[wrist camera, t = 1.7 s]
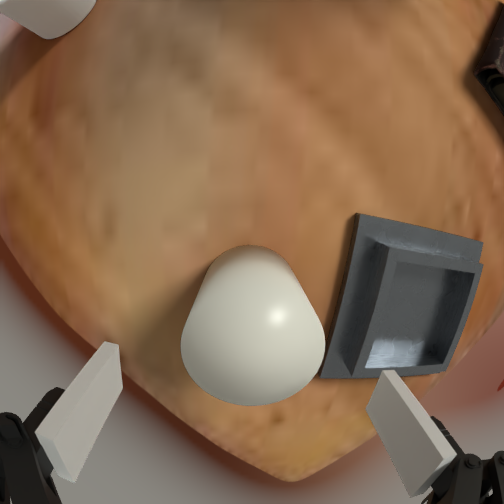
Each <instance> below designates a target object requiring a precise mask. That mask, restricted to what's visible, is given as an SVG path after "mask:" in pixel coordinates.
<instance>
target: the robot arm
mask: <svg viewBox="0 0 504 504" xmlns="http://www.w3.org/2000/svg"><path fill="white" fill-rule="evenodd" d="M122 389H123V386H122V377H121V367H120V356H119V345H118V344H113V343H109V342H105V341H104V343H103V344H102V345H101V346H100V348H99V349H98V350H97V351H96V353H95V354H94V355H93V356H92V357H91V359H90V360H89V361H88V362H87V364H86V365H85V366H84V367H83V369H82V370H81V371H80V372H79V374H78V375H77V376H76V377H75V379H74V380H73V382H72V383H71V384H70V385H69V387H68V388H67V389H66V390H64V389H61V388H58V387H56V388H54V389H52V390H50V391H49V392H47V393H46V395H45V396H44V397H43V398H42V401H40V402H39V403H38V404H37V407H35V408H34V409H33V411H32V412H31V413H30V414H29V416H28V417H27V418H26V420H25V421H24V422H23V423H22V421H21V419H20V418H19V417H18V416H17V415H16V414H13V413H9V412H4V413H0V504H10V497H11V501H12V504H62V503H61V500H60V498H59V495H58V493H57V490H56V487H55V485H54V482H53V479H52V477H51V475H50V474H51V472H52V470H53V468H54V470H55V472H56V473H57V475H58V476H59V477H62V478H64V479H66V480H68V481H71V482H73V483H75V482H76V480H77V478H78V475H79V473H80V471H81V469H82V467H83V465H84V463H85V461H86V459H87V457H88V455H89V453H90V451H91V449H92V447H93V445H94V442H95V441H96V438H97V437H98V435H99V433H100V431H101V429H102V427H103V425H104V423H105V421H106V419H107V417H108V415H109V413H110V411H111V410H112V408H113V406H114V404H115V402H116V400H117V398H118V396H119V394H120V393H121V391H122ZM366 411H367V413H368V415H369V417H370V419H371V421H372V423H373V425H374V427H375V429H376V431H377V433H378V434H379V436H380V438H381V440H382V442H383V444H384V446H385V448H386V450H387V452H388V454H389V456H390V458H391V460H392V462H393V464H394V466H395V468H396V470H397V472H398V474H399V476H400V478H401V480H402V482H403V484H404V486H405V488H406V490H407V492H408V494H409V496H410V498H411V497H414V496H417V495H420V494H423V493H424V492H425V491H426V490H427V489H428V488H429V487H430V486H431V487H432V488H433V491H432V492H431V493H430V494H429V495H428V496H427V497H426V498H425V499H424V500H423V501H422V503H421V504H424V503H425V502H426V501H427V500H428V502H427V504H504V451H498V452H497V453H495V455H494V456H493V457H492V458H491V459H488V460H481V459H480V458H479V457H478V456H476V455H474V454H464V452H463V451H462V449H461V448H460V447H459V446H458V444H457V443H456V441H455V440H454V439H453V437H452V436H451V435H450V433H449V432H448V431H447V430H446V428H445V427H444V425H443V424H442V423H441V422H440V421H439V420H438V419H436V418H435V417H434V416H431V417H430V416H429V415H428V414H427V412H426V411H425V410H424V408H423V407H422V406H421V404H420V403H419V402H418V400H417V399H416V398H415V396H414V395H413V394H412V392H411V391H410V390H409V388H408V387H407V386H406V385H405V383H404V382H403V381H402V379H401V378H400V377H399V376H398V374H397V373H396V372H395V370H382V372H381V375H380V377H379V380H378V382H377V385H376V387H375V389H374V392H373V394H372V396H371V398H370V401H369V403H368V405H367V407H366ZM491 489H492V490H493V494H492V495H491V496H489V493H488V492H489V491H490V490H491Z"/></svg>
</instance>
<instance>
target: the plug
mask: <svg viewBox="0 0 504 504" xmlns="http://www.w3.org/2000/svg"><path fill="white" fill-rule="evenodd" d="M324 352H325V335H324V331H323V328H322V325H321V323H320V321H319V319H318V317H317V315H316V313H315V311H314V309H313V307H312V306H311V304H310V302H309V300H308V298H307V296H306V295H305V293H304V291H303V289H302V287H301V285H300V284H299V282H298V280H297V278H296V276H295V275H294V273H293V271H292V269H291V268H290V266H289V264H288V263H287V262H286V261H285V259H284V258H282V257H281V256H280V255H279V254H277V253H276V252H275V251H273V250H271V249H268V248H265V247H262V246H257V245H243V246H238V247H235V248H232V249H229V250H227V251H225V252H224V253H222V254H221V255H220V256H219V257H217V258H216V259H215V260H214V262H213V263H212V264H211V266H210V267H209V269H208V271H207V273H206V275H205V278H204V280H203V282H202V285H201V287H200V290H199V292H198V294H197V297H196V299H195V302H194V304H193V307H192V309H191V311H190V314H189V316H188V319H187V321H186V324H185V326H184V329H183V333H182V336H181V355H182V360H183V363H184V366H185V368H186V370H187V372H188V374H189V375H190V376H191V378H192V379H193V380H194V382H195V383H196V384H197V385H198V386H199V387H201V388H202V389H203V390H204V391H205V392H207V393H209V394H210V395H212V396H214V397H216V398H218V399H220V400H223V401H225V402H228V403H232V404H237V405H245V406H258V405H266V404H271V403H275V402H278V401H281V400H284V399H286V398H288V397H290V396H292V395H294V394H295V393H297V392H298V391H300V390H301V389H302V388H303V387H305V386H306V385H307V384H308V383H309V382H310V381H311V380H312V378H313V377H314V376H315V374H316V373H317V371H318V369H319V367H320V365H321V363H322V360H323V357H324Z"/></svg>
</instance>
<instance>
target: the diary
mask: <svg viewBox="0 0 504 504" xmlns="http://www.w3.org/2000/svg"><path fill="white" fill-rule="evenodd" d="M474 76H475V77H476V78H477V79H478V81H479V82H480V83H481V85H482V86H483V87H484V88H485V90H486V91H487V92H488V94H489V95H490V97H491V98H492V99H493V101H494V102H495V104H496V105H497V107H498V108H499V109H500V111H501V112H502V114H503V115H504V6H503V9H502V12H501V15H500V18H499V20H498V22H497V24H496V27H495V29H494V31H493V33H492V36H491V39H490V41H489V44H488V46H487V49H486V51H485V53H484V55H483V56H482V58H481V60H480V62H479V64H478V66H477V67H476V69H475V71H474Z"/></svg>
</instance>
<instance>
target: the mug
mask: <svg viewBox="0 0 504 504" xmlns="http://www.w3.org/2000/svg"><path fill="white" fill-rule="evenodd" d="M95 3H96V0H0V13H2V14H4V15H5V16H7V17H9V18H11V19H12V20H14V21H16V22H17V23H19V24H21V25H22V26H24V27H26V28H27V29H29V30H31V31H32V32H34V33H35V34H37V35H39V36H40V37H42V38H44V39H53V38H57V37H60V36H62V35H64V34H66V33H67V32H69V31H70V30H72V29H73V28H74V27H76V26H77V25H78V24H79V23H80V22H81V21H82V20H83V19H84V18H85V17H86V16H87V15H88V14H89V12H90V11H91V10H92V8H93V7H94V5H95Z"/></svg>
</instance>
